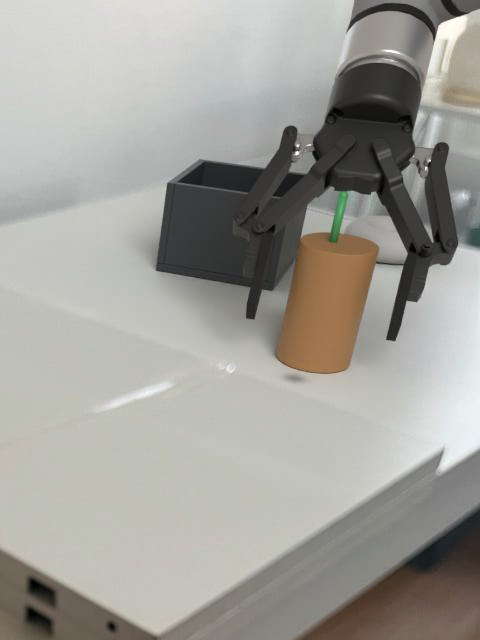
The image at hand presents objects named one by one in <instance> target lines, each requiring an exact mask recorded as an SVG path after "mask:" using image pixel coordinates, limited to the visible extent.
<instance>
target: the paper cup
mask: <svg viewBox="0 0 480 640" xmlns="http://www.w3.org/2000/svg"><path fill="white" fill-rule="evenodd" d="M348 193H349V192H348V191H342V192H341V191H340V192H339V195H338V197H337V204H336V207H335V212H334V216H333V220H332V224H331V228H330V229H331V230H330V232H327V231H324V232H323V231H321V232H320V231H319V232H311V233H307V234H304V235H301V239H300V243H299V248H298V252H297V257H296V259H295V261H294V266H293V267H294V268H293V273H292V277H291V282H290V287H289V292H288V296H287V301H286V306H285V310H284V315H283V320H282V324H281V329H280V333H279V338H278V344H277V348H276V352H275V356H276V358H277V359H278V361H280V362H281V363H282V364H283V365H286V366H288V367H290V368H293V369H294V370H295V369H296V370H300V371H303V372H308V373H314V374H315V373H316V374H334V373H340V372H343V371H346V370H347V369H348V368H349V367H350V365H351V361H352V359H353V354H354V350H355V347H356V342H357V338H358V334H359V330H360V326H361V322H362V318H363V314H364V310H365V307H366V302H367V299H368V296H369V291H370V287H371V283H372V279H373V276H374V272H375V268H376V264H377V262H376V260H377V257H378V253H379V246H378V245H377V244H376V243H374V242H372V241H370V240H368V239H365V238H362V237H358V236H354V235H349V234H344V233H341V228H342V224H343V219H344V215H345V212H346V206H347V202H348V198H349V194H348Z"/></svg>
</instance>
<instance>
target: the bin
mask: <svg viewBox="0 0 480 640" xmlns="http://www.w3.org/2000/svg"><path fill="white" fill-rule="evenodd" d="M265 168H266V167H260V166H254V165H246V164H240V163H239V164H238V163H231V162H224V161H216V160H209V159H201V158H199V159H198V160H196V161H195V162H194V163H192V164H191V165H190V166H188V167H187V168H185V169H184V170H182V171H181V172H180V173H179V174H178V175H176V176H174V177H173V178H172V179H170V180H168V181H167V182H166V189H165V196H164V204H163V211H162V218H161V219H162V220H161V226H160V234H159V241H158V242H159V243H158V250H157V258H156V265H155V271H159V272H163V273H170V274H175V275H181V276H187V277H193V278H199V279H203V280H204V279H205V280H211V281H216V282H222V283H226V284H233V285H238V286H243V287H244V286H245V287H250V288H251V284H252V280H253V278H246V277H244V274H243V263H244V259H245V255H246V251H247V247H248V243H249V242H248V240H247V239H245V238H243V237H241V238H238V237H235V236H234V234H233V215H234V213H235V211H236V210H237V209H238V207H239V206H240V204H241V203H242V201H243V200H244V198H245V197H246V196H247V194H248V193H249V191H250V190H251V188H252V187H253V185H254V184H255V182H256V181H257V180H258V178H259V177H260V175H261V174H262V172H263V171H264V169H265ZM306 174H307V173H305V172H297V171H290V170H289V172H288V173H287V175H286V177H285V178H284V179H283V181H282V182H281V184H280V185H279V187H278V188H277V190H276V191H275V193H274V194H273V195H272V197H271V198H270V200H269V201H268V203H267V204H266V206H265V207H264V209H263V210H262V211H261V213H260V214H259V216H258V217H257V219H258V218H259V217H260V216H261V215H262V214H263V213H264V212H266V211H267V210H268V209H269V208H270V207H271V206H272V205H273V204H274V203H275V202H276V201H278V200H279V199H280V198H281V197H282V196H283V195H284V194H285V193H286V192H287V191H288V190H290V189H291V188H292V187H293V186H294V185H295V184H296V183H297V182H298V181H299V180H301V179H302V178H303V177H304V176H305V175H306ZM307 210H308V205H307V206H306V207H305V208H304V209H302V210H301V211H300V212H299V213H298V214H297V215H296V216H295V217H294V218H293V219H292V220H290V221H289V222H288V223H287V224H286V225H285V226H284V227H283V228H282V229H281V230H280V231H278V232H277V233H276V234H275V235H274V236H273V242H272V252H271V256H270V260H269V264H268V268H267V272H266V276H265V280H264V284H263V288H262V290H267V291H274V290H275V288H276V287H277V285H278V284H279V282H280V281H281V280H282V279H283V277H284V276H285V275H286V274H287V272H288V270H289V269H290V268H291V266H292V265H293V264H294V263H295V262H296V257H297V252H298V248H299V243H300V239H301V237H302V233H303V230H304V229H303V228H304V224H305V220H306V216H307ZM257 219H256V220H257Z"/></svg>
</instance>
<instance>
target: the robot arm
mask: <svg viewBox="0 0 480 640" xmlns="http://www.w3.org/2000/svg"><path fill="white" fill-rule="evenodd" d="M352 5H353V6H352V9H351V14H350V20H349V24H348V26H347V29H346V33H345V36H344V38H343V42H342V47H341V51H340V53H339V59H338V63H337V67H336V70H335V75H334V82H333V85H332V87H331V92H330V94H329V95H330V96H329V99H328V103H327V107H326V111H325V116H324V118H323V119H324V120H323V124H322V126H321V127H320V129H319V130H318V131H317V132H316V133H315V134H307V133H298V131H299V130H298V127H296V126H295V125H293V124H291V125H287V126H286V127H284V129H283V131H282V135H281V138H280V143H279V147H278V149H277V150H276V151H275V153H274V155H273V156H272V158H271V159H270V161H269V162H268V163H267V165H266V166H265V167H264V168H265V169H264V171H263V172H262V174H261V175H260V177H259V178H258V180H257V181H256V182H255V184H254V185H253V187H252V188H251V190H250V191H249V193H248V194H247V196H246V197H245V198H244V200H243V201H242V203H241V204H240V206H239V207H238V209H237V210H236V211H235V213H234V215H233V234H234V236H235V237H238V238H241V237H243V238H245V239H247V240H248V242H249V243H248V247H247V251H246V255H245V259H244V263H243V274H244V277H246V278H253V280H252V284H251V287H250V289H249V293H248V297H247V302H246V307H245V309H246V310H245V319H246V320H253V321H254V320H255V319H256V315H257V311H258V307H259V303H260V299H261V295H262V292H263V289H262V288H263V284H264V280H265V276H266V272H267V268H268V264H269V260H270V256H271V252H272V242H273V236H274V235H275V234H276V233H277V232H278V231H280V230H281V229H282V228H283V227H284V226H285V225H286V224H287V223H288V222H289V221H290V220H292V219H293V218H294V217H295V216H296V215H297V214H298V213H299V212H300V211H301V210H302V209H304V208H305V207H306V206H307V207H308V205H309V204H311V203H312V202H313V201H314V200H315V199H316V198H320V197H321V196H322V195H323V194H324V193H325V192H327V190H329V188H331V187H332V188H333V192H340V193H341V192H342V191H346V192H355V193H358V194H361V195H367V196H371V194H372V193H376V195H377V197H378V200H379V202H380V204H381V205H382V206H383V207H385V209H386V212H387V213H388V216H390V217H391V219H392V222H393V224H394V226H395V228H396V230H397V232H398V234H399V236H400V238H401V241H402V243H403V245H404V247H405V249H406V251H407V253H408V254H407V257H406V260H405V263H404V264H403V267H402V269H401V273H400V278H399V281H398V286H397V291H396V294H395V299H394V303H393V307H392V313H391V316H390V321H389V324H388V330H387V333H386V337H385V340H386V341H390V342H396V341H397V337H398V334H399V332H400V329H401V327H402V322H403V319H404V315H405V310H406V306H407V302H410V303H411V302H412V303H418V302H419V300H420V299H421V298H422V295H423V293H424V290H425V286H426V282H427V278H428V275H429V274H428V273H429V269H430V267H432V266H435V265H439V266H444V267H446V266H448V265H450V264H451V263H452V261H453V258H454V256H455V254H456V251H457V249H458V246H459V238H458V233H457V227H456V222H455V215H454V211H453V205H452V198H451V194H450V187H449V182H448V178H447V172H446V165H447V161H448V155H449V152H450V146H449V144H448V143H447V142H444V141H440V142H437V143H436V144H435V145H434V146H433V147H425V146H416V143H415V141H414V131H415V127H416V122H417V118H418V114H419V110H420V105H421V101H422V96H423V90H424V87H425V83H426V79H427V76H428V71H429V68H430V63H431V59H432V54H433V50H434V46H435V43H436V38H437V34H438V31H439V27H440V25H442V23H445V22H448V21H451V20H454V19H456V18H461V17H463V16H465V15H468V14H470V13H472V12H475V11H478V10H480V0H353V4H352ZM307 153H311V154H312V157H313V159H314V160H315V162H314V163H313V165H311V167H310V169H309V170H308V172H307V173H305V174H306V175H305V176H304V177H303V178H302V179H301V180H299V181H298V182H297V183H296V184H295V185H294V186H293V187H292V188H291V189H290V190H288V191H287V192H286V193H285V194H284V195H283V196H282V197H281V198H280V199H279V200H278V201H276V202H275V203H274V204H273V205H272V206H271V207H270V208H269V209H268V210H267V211H266V212H264V213H263V214H262V215H261V216H260V217H259V218H258V219H257V217H258V216H259V214H260V213H261V211H262V210H263V209H264V207H265V206H266V204H267V203H268V201H269V200H270V198H271V197H272V195H273V194H274V193H275V191H276V190H277V188H278V187H279V185H280V184H281V182H282V181H283V179H284V178H285V177H286V175H287V173H288V172H289V171H290V169H291V167H292V165H293V164H297V163H298V162H299V161H300V160H302V158H303V156H304V155H306V154H307ZM411 164H412V165H414V166H415V167H416V168H417V173H418V175H419V177H420V179H424V187H423V188H424V194H425V201H426V207H427V214H428V218H429V225H430V230H431V231H432V236H433V243H432V241H431V239H430V237H429V235H428V233H427V231H426V229H425V227H424V225H425V224H424V222H423V221H422V218H421V216H420V215H419V212H418V209H417V208H416V206H415V204H414V202H413V200H412V198H411V195H410V194H409V191H408V189H407V187H406V184H405V181H404V175H403V173H402V172H403V171H404V170H406V169H407V168H408V167H409V166H410V165H411ZM256 219H257V220H256Z"/></svg>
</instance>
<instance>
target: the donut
mask: <svg viewBox="0 0 480 640" xmlns="http://www.w3.org/2000/svg"><path fill="white" fill-rule="evenodd" d="M423 225H424V227H425V229H426V231H427V233H428V235H429V237H430V239H431V241H432V243H433V236H432V230H431V228H429V227H428V226H426V225H425V224H423ZM343 234H349V235H354V236H358V237H362V238H365V239H368V240H370V241H372V242H374V243H376V244H377V245H378V246H379V253H378V257H377V260H376V263H382V264H388V265H389V264H391V265H404V263H405V260H406V257H407V254H408V253H407V251H406V249H405V247H404V245H403V243H402V241H401V238H400V236H399V234H398V232H397V230H396V228H395V226H394V224H393V222H392V219H391V217H390V215H365V216H361V217H357V218H356V219H354V220H352V221H350V222H349V223H348V225H347V226H346V227H345V228H344V232H343Z"/></svg>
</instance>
